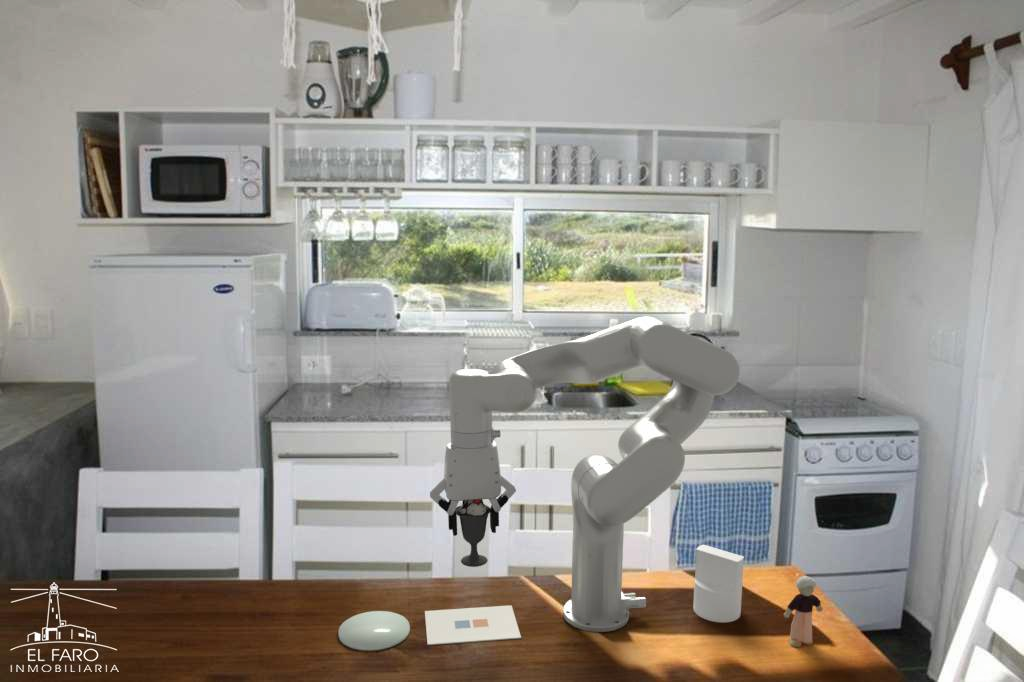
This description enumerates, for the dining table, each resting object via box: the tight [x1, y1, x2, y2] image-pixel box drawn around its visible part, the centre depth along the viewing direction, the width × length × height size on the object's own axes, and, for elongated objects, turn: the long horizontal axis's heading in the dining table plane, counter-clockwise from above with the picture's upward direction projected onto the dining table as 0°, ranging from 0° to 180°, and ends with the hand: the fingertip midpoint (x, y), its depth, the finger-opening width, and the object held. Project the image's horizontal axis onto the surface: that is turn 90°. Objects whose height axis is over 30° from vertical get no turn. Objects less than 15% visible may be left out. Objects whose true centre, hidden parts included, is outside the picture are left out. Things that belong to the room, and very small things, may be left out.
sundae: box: [455, 499, 492, 568], centre depth 150 cm, size 7×7×15 cm
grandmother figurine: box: [783, 575, 823, 648], centre depth 147 cm, size 8×4×13 cm, turn 117°
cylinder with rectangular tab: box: [692, 544, 745, 623], centre depth 158 cm, size 9×9×12 cm
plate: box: [338, 610, 411, 652], centre depth 151 cm, size 13×13×1 cm
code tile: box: [424, 605, 522, 646], centre depth 153 cm, size 17×12×1 cm
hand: (473, 530), depth 150 cm, fingers closed on sundae, 6 cm apart
